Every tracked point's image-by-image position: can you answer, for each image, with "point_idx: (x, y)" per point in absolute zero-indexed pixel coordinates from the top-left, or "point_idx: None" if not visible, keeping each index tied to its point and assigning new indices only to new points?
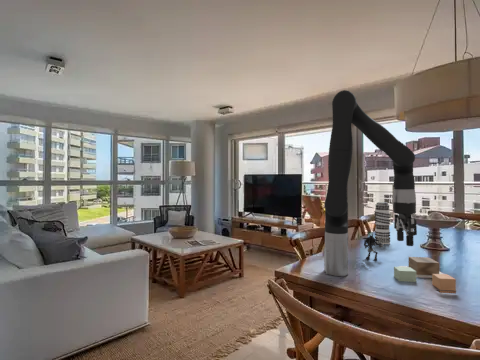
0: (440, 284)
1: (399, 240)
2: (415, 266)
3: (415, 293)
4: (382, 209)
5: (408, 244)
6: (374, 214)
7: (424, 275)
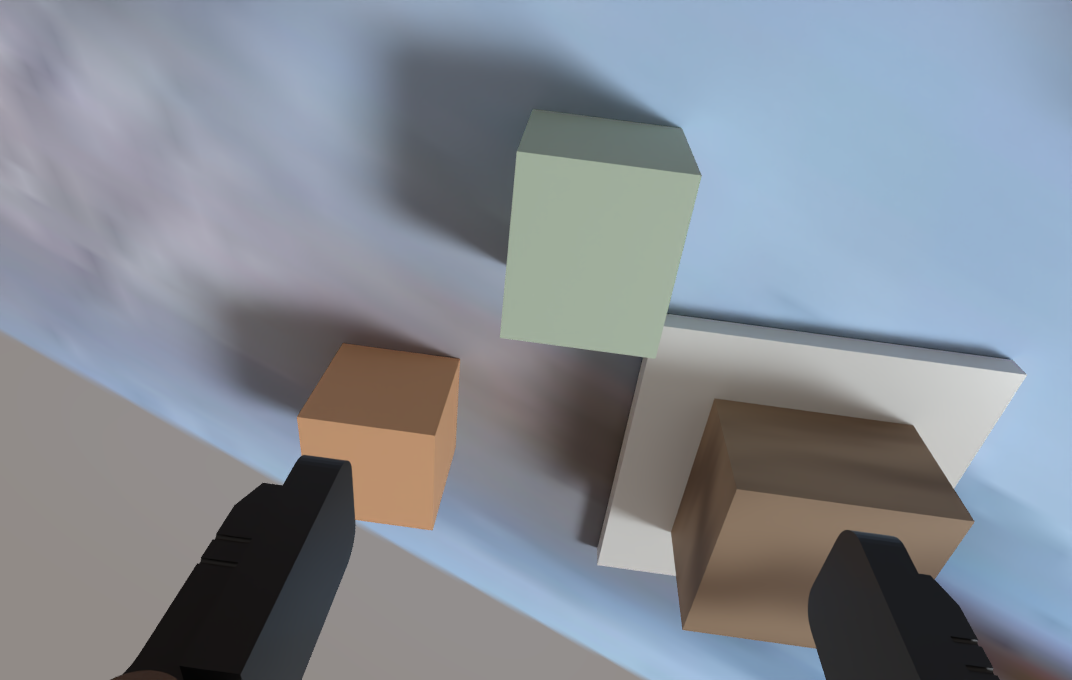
0: (319, 388)
1: (841, 554)
2: (768, 450)
3: (276, 132)
4: None
5: (284, 487)
6: None
7: (683, 439)
